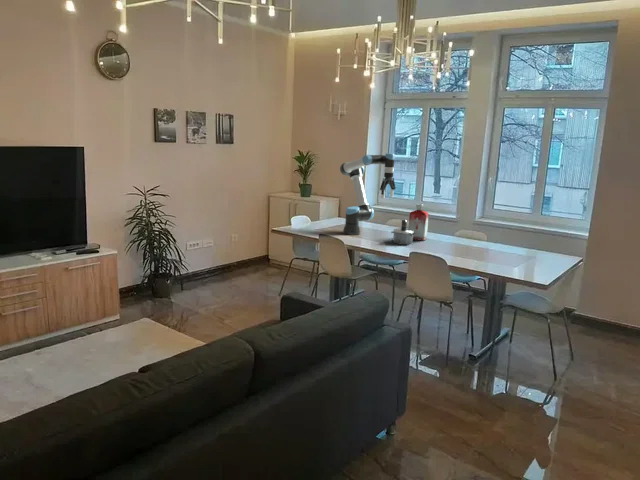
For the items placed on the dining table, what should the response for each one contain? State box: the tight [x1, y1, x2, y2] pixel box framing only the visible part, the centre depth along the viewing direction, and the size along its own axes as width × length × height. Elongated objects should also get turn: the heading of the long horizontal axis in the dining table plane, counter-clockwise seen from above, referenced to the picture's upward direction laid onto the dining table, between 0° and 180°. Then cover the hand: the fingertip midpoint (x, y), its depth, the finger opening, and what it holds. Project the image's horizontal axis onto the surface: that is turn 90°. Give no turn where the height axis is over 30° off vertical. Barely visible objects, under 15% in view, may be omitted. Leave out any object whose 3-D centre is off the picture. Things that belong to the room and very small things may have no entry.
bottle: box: [408, 203, 430, 242], centre depth 433 cm, size 14×10×30 cm
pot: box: [390, 230, 416, 246], centre depth 420 cm, size 21×16×9 cm
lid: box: [392, 219, 414, 234], centre depth 418 cm, size 16×16×10 cm
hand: (387, 197), depth 427 cm, fingers open, 13 cm apart
